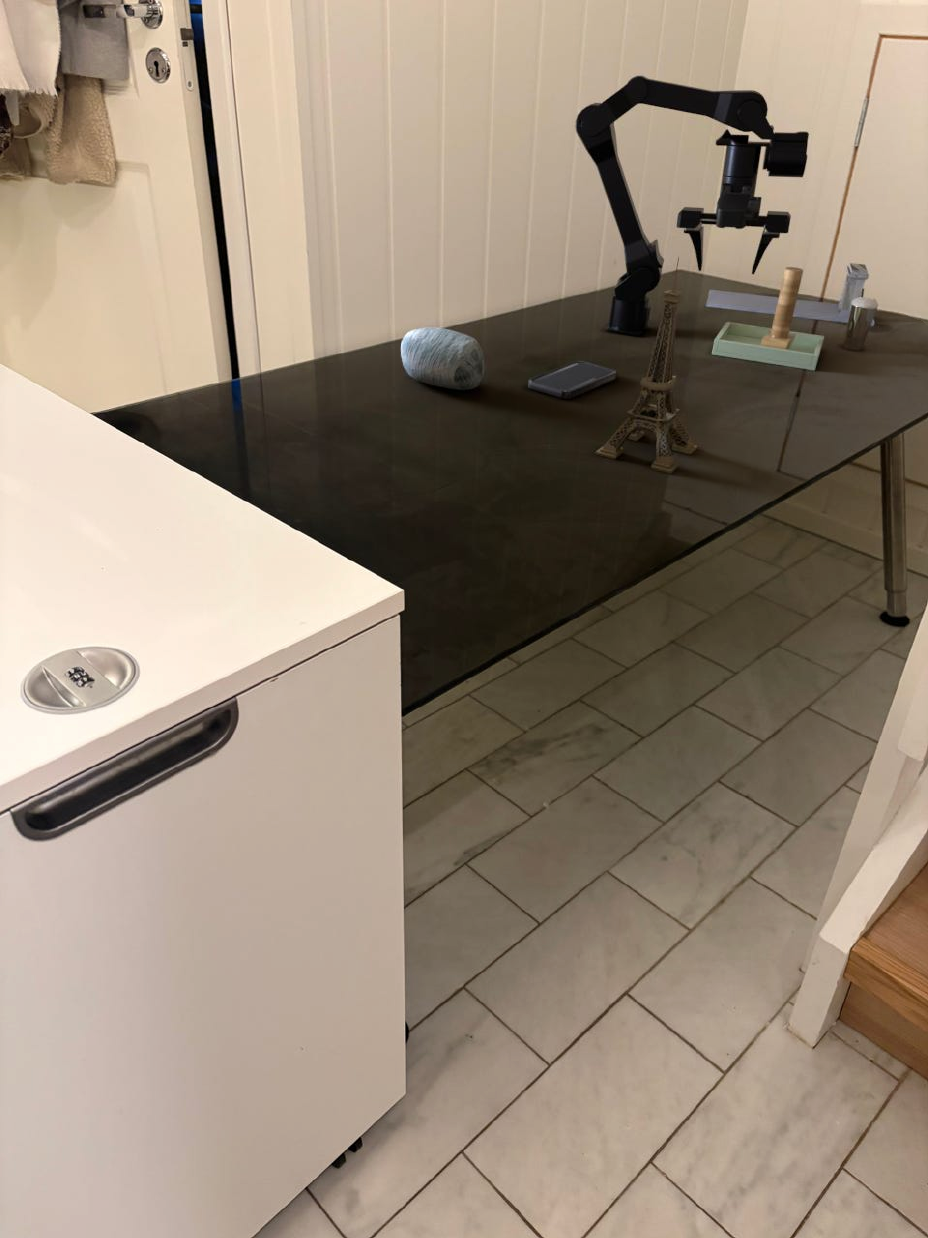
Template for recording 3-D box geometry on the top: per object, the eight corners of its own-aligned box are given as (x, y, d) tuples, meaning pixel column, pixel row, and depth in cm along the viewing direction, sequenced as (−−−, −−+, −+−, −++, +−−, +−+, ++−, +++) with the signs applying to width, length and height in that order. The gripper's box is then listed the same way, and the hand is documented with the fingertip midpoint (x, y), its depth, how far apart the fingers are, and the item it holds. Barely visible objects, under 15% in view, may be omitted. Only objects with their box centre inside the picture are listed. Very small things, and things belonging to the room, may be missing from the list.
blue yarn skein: (505, 364, 146) (479, 309, 139) (475, 406, 142) (446, 352, 135) (439, 365, 154) (411, 314, 148) (408, 404, 150) (378, 354, 144)
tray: (711, 354, 167) (714, 339, 166) (723, 335, 178) (726, 321, 177) (814, 370, 162) (818, 355, 161) (820, 350, 173) (824, 335, 172)
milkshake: (860, 344, 178) (875, 289, 172) (868, 352, 173) (884, 296, 168) (836, 342, 178) (850, 287, 172) (843, 350, 173) (857, 294, 168)
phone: (525, 380, 146) (578, 359, 156) (525, 387, 147) (577, 366, 157) (568, 392, 142) (619, 370, 152) (567, 400, 143) (618, 377, 153)
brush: (784, 356, 166) (803, 273, 159) (759, 352, 168) (777, 269, 160) (792, 348, 171) (811, 267, 163) (767, 344, 172) (785, 263, 165)
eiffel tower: (625, 430, 134) (653, 243, 120) (697, 448, 129) (734, 256, 116) (595, 454, 126) (621, 257, 112) (670, 473, 122) (707, 271, 108)
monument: (873, 326, 189) (887, 276, 184) (705, 306, 196) (714, 257, 191) (868, 311, 200) (881, 263, 195) (709, 292, 206) (717, 246, 201)
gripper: (678, 178, 156) (667, 277, 164) (796, 182, 151) (779, 284, 159) (685, 171, 165) (675, 265, 173) (797, 175, 160) (781, 272, 168)
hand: (726, 272), depth 168 cm, fingers open, 9 cm apart
